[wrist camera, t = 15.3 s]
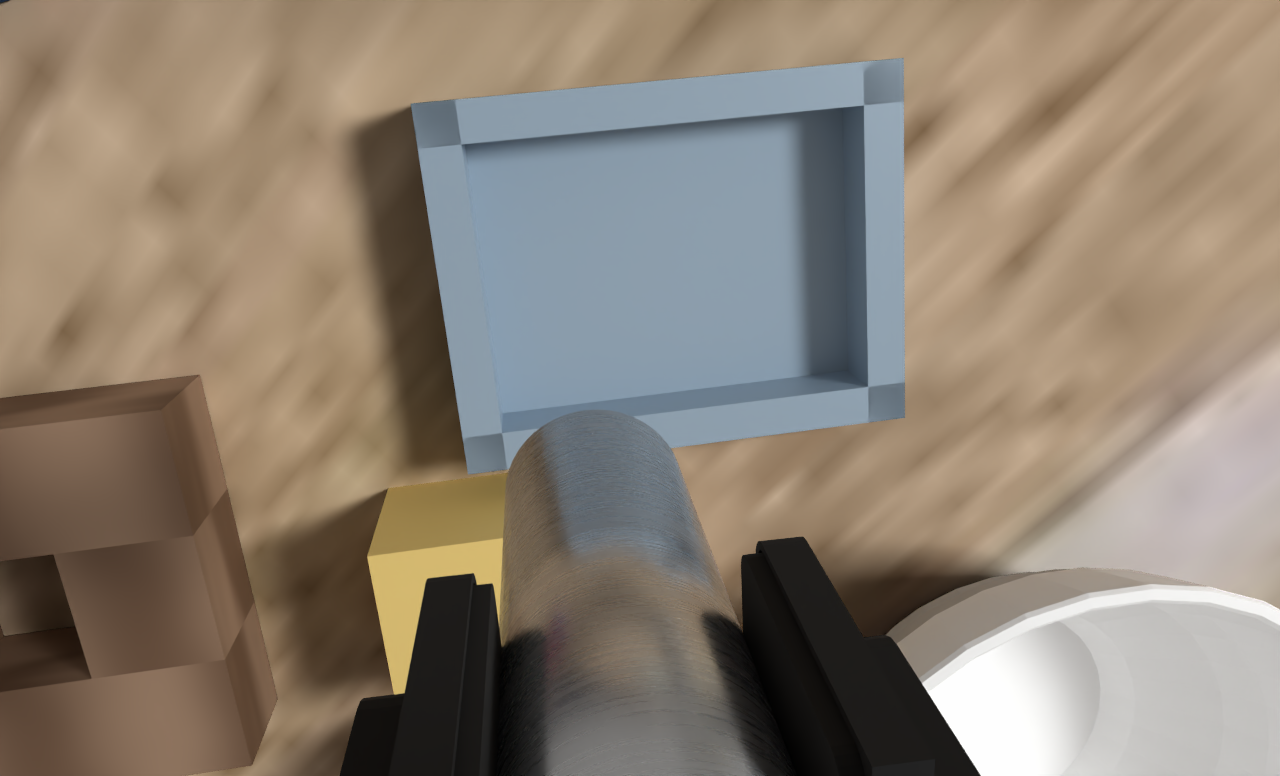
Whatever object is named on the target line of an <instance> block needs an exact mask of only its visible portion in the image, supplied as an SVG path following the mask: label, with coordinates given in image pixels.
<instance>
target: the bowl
mask: <svg viewBox="0 0 1280 776" xmlns="http://www.w3.org/2000/svg"><path fill="white" fill-rule="evenodd" d="M886 636H889V637H891V638H892V639H893V640H894V642H895V643H896V644H897V645H898V647H899V648H900V650H901V652H902V653H903V655H904V656H905V658H906V659H907V661H908V663H909V664H910V666H911V667H912V669H913V670H914V672H915V673H916V675H917V677H918V678H919V680H920V681H921V683H922V684H923V686H924V688H925V689H926V691H927V692H928V694H929V695H930V697H931V698H932V700H933V702H934V703H935V705H936V706H937V708H938V709H939V711H940V713H941V714H942V716H943V717H944V719H945V720H946V722H947V723H948V725H949V727H950V728H951V730H952V731H953V733H954V734H955V736H956V738H957V739H958V741H959V742H960V744H961V745H962V747H963V748H964V750H965V752H966V753H967V755H968V756H969V758H970V759H971V761H972V763H973V764H974V766H975V767H976V769H977V770H978V772H979V773H980V775H981V776H1280V609H1278V608H1276V607H1274V606H1272V605H1270V604H1268V603H1266V602H1265V601H1262V600H1258V599H1254V598H1250V597H1247V596H1243V595H1239V594H1235V593H1231V592H1227V591H1224V590H1220V589H1216V588H1212V587H1208V586H1204V585H1199V584H1195V583H1191V582H1186V581H1182V580H1177V579H1173V578H1169V577H1164V576H1158V575H1153V574H1148V573H1143V572H1138V571H1133V570H1122V569H1101V568H1076V569H1059V570H1049V571H1042V572H1026V573H1018V574H1011V575H1004V576H997V577H991V578H988V579H985V580H982V581H979V582H976V583H973V584H970V585H967V586H963V587H960V588H957V589H955V590H953V591H951V592H949V593H947V594H945V595H943V596H941V597H939V598H937V599H935V600H933V601H931V602H929V603H927V604H926V605H924V606H922V607H920V608H918V609H916V610H915V611H914V612H912V613H911V614H910V615H908V616H907V617H906V618H904V619H903V620H902V621H900V622H899V623H898V624H896V625H895V626H894V627H893V628H892V629H891V630H890V631H889V632H888V633H887V634H886Z"/></svg>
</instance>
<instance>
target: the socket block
mask: <svg viewBox="0 0 1280 776" xmlns="http://www.w3.org/2000/svg"><path fill="white" fill-rule="evenodd" d="M52 554H53V555H54V558H55V561H56V564H57V568H58V571H59V574H60V577H61V581H62V584H63V587H64V590H65V594H66V597H67V600H68V603H69V607H70V610H71V613H72V616H73V620H74V623H75V626H76V627H69V628H62V629H55V630H48V631H41V632H33V633H26V634H19V635H12V636H5V637H4V635H3V632H2V629H1V626H0V776H187V775H193V774H200V773H206V772H212V771H219V770H225V769H232V768H238V767H245V766H251V765H252V764H253V762H254V759H255V756H256V754H257V751H258V749H259V746H260V743H261V741H262V738H263V736H264V733H265V731H266V728H267V725H268V723H269V720H270V718H271V715H272V712H273V710H274V707H275V705H276V702H277V699H278V698H277V694H276V690H275V686H274V682H273V677H272V673H271V669H270V665H269V661H268V657H267V652H266V648H265V644H264V640H263V636H262V632H261V627H260V623H259V619H258V615H257V611H256V607H255V602H254V598H253V594H252V590H251V586H250V582H249V577H248V573H247V569H246V565H245V561H244V557H243V553H242V548H241V544H240V540H239V536H238V532H237V528H236V523H235V519H234V515H233V511H232V507H231V503H230V498H229V494H228V490H227V486H226V482H225V478H224V473H223V469H222V465H221V461H220V457H219V453H218V448H217V444H216V440H215V436H214V432H213V428H212V423H211V419H210V415H209V411H208V407H207V403H206V398H205V394H204V390H203V386H202V382H201V378H200V375H194V376H186V377H177V378H169V379H160V380H152V381H143V382H135V383H126V384H117V385H109V386H100V387H92V388H83V389H75V390H66V391H58V392H49V393H41V394H32V395H23V396H15V397H6V398H0V561H6V560H14V559H21V558H29V557H37V556H44V555H52Z"/></svg>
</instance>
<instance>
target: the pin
mask: <svg viewBox="0 0 1280 776" xmlns="http://www.w3.org/2000/svg"><path fill="white" fill-rule="evenodd" d="M499 630H500V638H501V646H502V652H501V677H500V702H499V727H498V752H497V776H797V774H796V772H795V769H794V766H793V764H792V761H791V758H790V756H789V753H788V751H787V748H786V745H785V743H784V740H783V738H782V735H781V732H780V730H779V727H778V724H777V722H776V719H775V717H774V714H773V711H772V709H771V706H770V704H769V701H768V698H767V696H766V693H765V690H764V688H763V685H762V683H761V680H760V677H759V675H758V672H757V669H756V667H755V664H754V662H753V659H752V656H751V654H750V651H749V649H748V646H747V643H746V641H745V638H744V635H743V633H742V630H741V628H740V625H739V622H738V620H737V617H736V614H735V612H734V609H733V607H732V604H731V601H730V599H729V596H728V594H727V591H726V588H725V586H724V583H723V580H722V578H721V575H720V573H719V570H718V567H717V565H716V562H715V560H714V557H713V554H712V552H711V549H710V546H709V544H708V541H707V539H706V536H705V533H704V531H703V528H702V525H701V523H700V520H699V518H698V515H697V512H696V510H695V507H694V505H693V502H692V499H691V497H690V494H689V491H688V489H687V486H686V484H685V481H684V478H683V476H682V473H681V470H680V468H679V465H678V463H677V460H676V458H675V456H674V454H673V452H672V450H671V449H670V447H669V445H668V444H667V443H666V441H665V440H664V439H663V438H662V437H661V435H659V434H658V433H657V432H656V431H655V430H654V429H653V428H651V427H650V426H649V425H647V424H646V423H644V422H642V421H640V420H639V419H637V418H635V417H632V416H629V415H627V414H624V413H620V412H615V411H611V410H584V411H578V412H573V413H570V414H566V415H563V416H561V417H559V418H556V419H554V420H552V421H550V422H549V423H547V424H545V425H543V426H542V427H541V428H539V429H538V430H537V431H535V432H534V433H533V434H532V435H531V436H530V437H529V438H528V439H527V440H526V441H525V442H524V444H523V445H522V446H521V448H520V449H519V450H518V452H517V454H516V455H515V457H514V459H513V461H512V463H511V466H510V468H509V471H508V476H507V480H506V488H505V507H504V528H503V550H502V571H501V593H500V614H499Z"/></svg>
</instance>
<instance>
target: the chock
mask: <svg viewBox="0 0 1280 776" xmlns="http://www.w3.org/2000/svg"><path fill="white" fill-rule="evenodd" d="M507 476H508V473H503V474H496V475H488V476H480V477H472V478H465V479H457V480H449V481H441V482H434V483H426V484H418V485H410V486H403V487H395V488H388V491H387V494H386V497H385V500H384V504H383V507H382V510H381V513H380V516H379V520H378V523H377V526H376V529H375V533H374V536H373V539H372V542H371V546H370V549H369V552H368V555H367V558H368V564H369V569H370V574H371V579H372V584H373V589H374V594H375V599H376V605H377V610H378V615H379V620H380V625H381V630H382V635H383V640H384V646H385V651H386V656H387V661H388V666H389V671H390V676H391V681H392V687H393V692H394V694H403V693H405V688H406V683H407V677H408V672H409V667H410V662H411V657H412V651H413V646H414V641H415V636H416V630H417V625H418V620H419V615H420V610H421V604H422V599H423V594H424V589H425V583H426V580H427V579H428V578H435V577H444V576H453V575H462V574H471V573H474V575H475V578H476V583H477V585H481V584H490V583H493V586H494V592H495V599H496V606H497V614H498V622H499V614H500V593H501V571H502V550H503V528H504V507H505V488H506V480H507Z"/></svg>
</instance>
